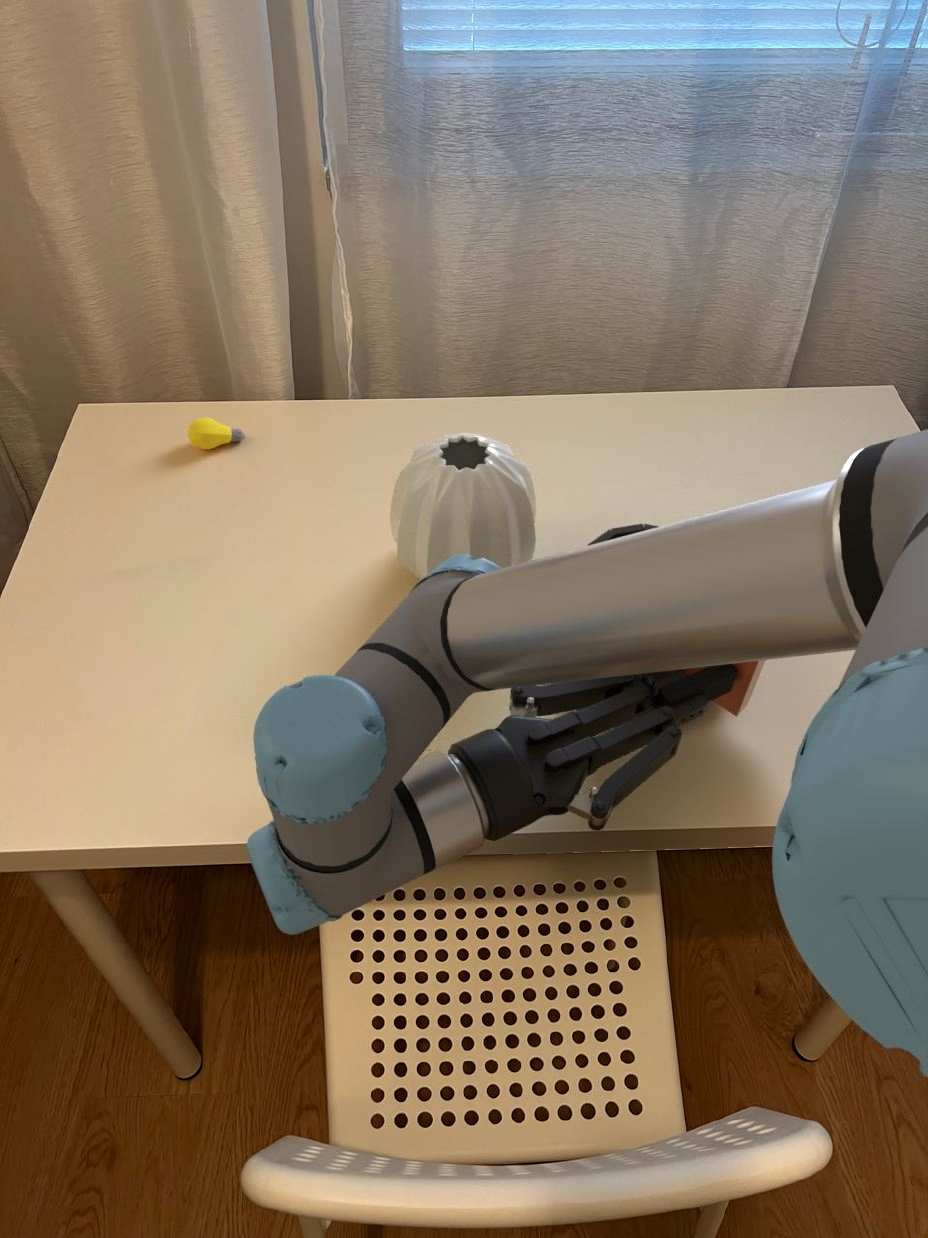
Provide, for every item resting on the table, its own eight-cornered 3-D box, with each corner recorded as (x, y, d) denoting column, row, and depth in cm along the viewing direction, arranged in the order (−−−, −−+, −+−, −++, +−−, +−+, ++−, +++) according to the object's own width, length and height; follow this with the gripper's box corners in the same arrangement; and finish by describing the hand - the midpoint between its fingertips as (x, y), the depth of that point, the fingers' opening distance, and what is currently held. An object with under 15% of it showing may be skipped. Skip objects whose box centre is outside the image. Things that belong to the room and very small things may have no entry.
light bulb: (185, 442, 104) (187, 411, 102) (240, 446, 106) (242, 415, 104) (189, 453, 101) (190, 421, 99) (245, 456, 103) (248, 424, 102)
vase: (533, 515, 96) (542, 407, 86) (531, 617, 87) (541, 510, 77) (400, 508, 97) (394, 401, 87) (384, 609, 88) (375, 501, 78)
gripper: (427, 756, 74) (672, 649, 81) (508, 894, 66) (770, 762, 74) (424, 699, 68) (688, 589, 75) (513, 843, 61) (796, 706, 68)
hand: (728, 675), depth 75 cm, fingers closed
